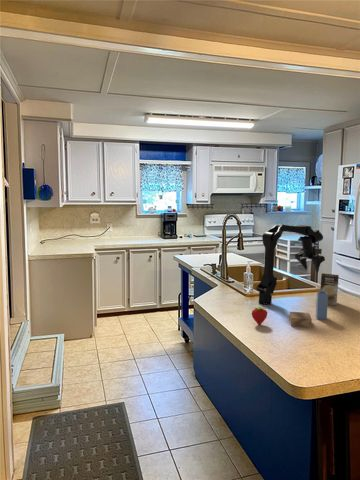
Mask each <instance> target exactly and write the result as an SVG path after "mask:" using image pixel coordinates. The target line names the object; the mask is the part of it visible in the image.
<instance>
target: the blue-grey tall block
mask: <svg viewBox="0 0 360 480" xmlns="http://www.w3.org/2000/svg"><path fill="white" fill-rule="evenodd" d="M315 300H316V301H315V303H316V305H315V318H316V320H319V321H320V320H322V321H327V319H328V306H329V304H328V293H327V292H325V290H316V299H315Z"/></svg>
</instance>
